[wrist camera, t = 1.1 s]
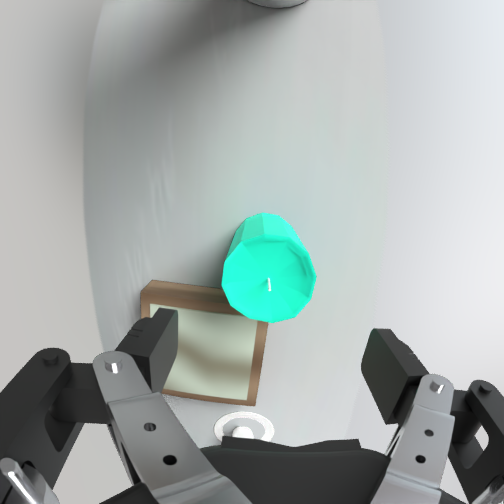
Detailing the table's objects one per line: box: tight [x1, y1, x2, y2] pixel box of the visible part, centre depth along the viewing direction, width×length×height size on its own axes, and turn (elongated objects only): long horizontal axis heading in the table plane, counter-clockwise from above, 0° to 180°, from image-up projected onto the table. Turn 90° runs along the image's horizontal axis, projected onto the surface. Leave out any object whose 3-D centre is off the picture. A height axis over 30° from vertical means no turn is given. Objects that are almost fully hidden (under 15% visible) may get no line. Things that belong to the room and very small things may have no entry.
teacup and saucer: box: [214, 412, 274, 442], centre depth 34 cm, size 9×8×4 cm
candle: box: [221, 213, 316, 323], centre depth 23 cm, size 6×6×12 cm
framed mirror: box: [141, 280, 268, 406], centre depth 30 cm, size 12×12×4 cm
